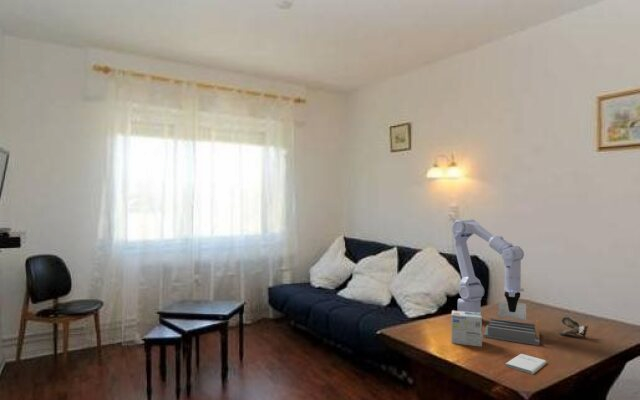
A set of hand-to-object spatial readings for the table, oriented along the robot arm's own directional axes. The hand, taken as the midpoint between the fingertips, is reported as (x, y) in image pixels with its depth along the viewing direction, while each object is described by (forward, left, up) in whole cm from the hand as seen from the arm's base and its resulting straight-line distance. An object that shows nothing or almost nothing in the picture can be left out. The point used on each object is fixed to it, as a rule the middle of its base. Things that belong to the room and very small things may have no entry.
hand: (512, 311), depth 161 cm
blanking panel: (0, 0, -3) cm, 3 cm away
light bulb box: (-15, -19, -9) cm, 26 cm away
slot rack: (0, -3, -9) cm, 9 cm away
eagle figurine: (+21, +8, -9) cm, 25 cm away
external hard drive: (+5, -32, -10) cm, 33 cm away
